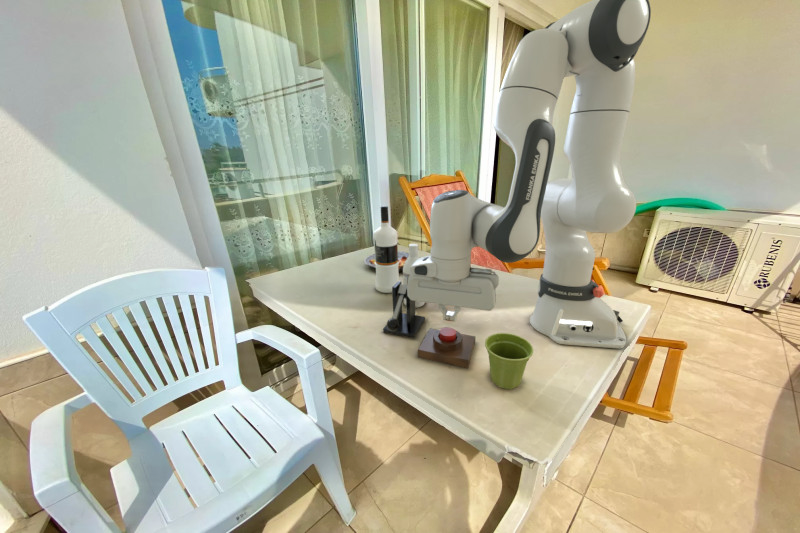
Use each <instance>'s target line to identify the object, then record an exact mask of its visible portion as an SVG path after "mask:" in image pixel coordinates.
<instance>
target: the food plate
mask: <svg viewBox="0 0 800 533" xmlns="http://www.w3.org/2000/svg"><path fill="white" fill-rule="evenodd" d="M408 257H409V252H407V251H400V250H399V251H398V262H399V264H398V271H399V272H400V271H403V266H404V263H405V261H406V260H407V258H408ZM375 263H376V262H375V253H373V254H370V255H368V256H367V257H365V259H364V264H365V265H367V266H370V267H372V268H375V269H376V265H375Z"/></svg>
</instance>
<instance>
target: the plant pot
mask: <svg viewBox="0 0 800 533" xmlns="http://www.w3.org/2000/svg"><path fill="white" fill-rule="evenodd" d="M484 346H485V349H486V352H487V354H488V361H489V362H488V363H489V374H490V380H491V381H492V382H493V383H494V384H495V385H496V386H497V387H499V388H501V389H504V390H513V389H515V388H518V387H520V385H521V382H522V379H523V376H524V373H525V369H526V366H527V363H528V362H529V360H530V358H532V356H533V355H534V347H533V345H532V343H530V341H529V340H527V339H526V338H524V337H521V336H519V335H517V334H515V333H514V334H513V333H508V332H498V333H493V334H491V335H488V336H487V337H486V339H485V341H484Z"/></svg>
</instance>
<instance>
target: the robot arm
mask: <svg viewBox="0 0 800 533" xmlns="http://www.w3.org/2000/svg"><path fill="white" fill-rule="evenodd" d="M651 14H652V9H651V3H650V0H590V1H588V2H585V3H583V4H580V5H579V6H577V7H575V8H574V9H573V10H572V11H570V12H569V13H566V14H565V15H563V16H562V17H560V18H559V19H557V20H556V21H553V22H550V23H549V24H548V25H547V26H545V27H544V28H539V29H534V30H532V31H530V32H529V33H527V34H525V35H524V36H523V37H522V38H521V40H519V43H518V45H517V47H516V49H515V51H514V52H513V55H512V57H511V59H510V61H509V64H508V67H507V69H506V71H505V74H504V77H503V80H502V83H501V85H500V89H499V93H498V96H497V100H496V103H495V106H494V111H493V112H494V113H493V123H492V124H493V128H494V130H495V133H496V135H497V136H498V138H499V139H500V140H501V141H502V142H503V143H504V144H506V145H507V146H508V147H510V148H511V150H512V152H513V154H514V158H515V166H514V170H513V176H512V181H511V185H510V190H509V195H508V199H507V203H506V205H505V206H502V205H499V204H496V203H492V202H489V201H485V200H482V199H481V198H478V197H477V196H474V195H473V194H471V193H470V191H468V190H465V189H455V190H448V191H445V192H441V193H440V194H438V195H436V197H434V199H433V200H432V203H431V207H430V216H429V236H430V240H431V248H430V254H428V255H424V256H419V257H420V258H419V259H417V260H416V261H415V262H414V263H413V264H412V265H411V267H410V272H411V275H410V277H409V279H408V286H407V295H408V297H409V299H410V300H413V301H420V302H425V303H428V304H436V305H438V309H439V311H440V312H441V314H442V316H443V317H442V318H443V321H446V322H454V323H455V322H457V319H458V314H459V312H461V309H462V308H466V309H472V310H481V311H487V312H488V311H489V312H490V311H492V310H494V309H495V307H496V303H497V291H496V289H497V288H498V286H499V280H500V278H499V275H498V274H497V272H495V271H494V270H492V269H491V268H480V267H471V265H472V250H473V248H480V249H483V250H484V251H486V252H488V253H489V254H490V255H492V256H493V257H494V258H495V259H497V260H498V261H500V262H502V263H505V264H506V263H507V264H511V263H512V264H513V263H517V262H519V261H521V260H524V259H525V258H527V257H528V256H529V255H530V254H531V253H532V252H533V251H534V250H535V249H536V246H537V245H538V242H539V240H540V236H541V235H540V234H541V225H542V229H543V234H544V243H545V249H544V250H545V251H544V252H545V253H544V260H543V262H544V263H543V268H542V269H543V270H542V273H541V274H540V278H539V279H538V280H539V281H538V286H537V295H538V296H537V300H536V304H535V306H534V309H533V312H532V314H531V316H530V317H529V324H530V325H531V327H532V328H533V329H535V331H537V332H539V333H541V334H543V335H544V336H547V337H548V338H550V339H551V340H552V341H553V342H554V343H557V344H559V345H565V346H567V345H569V346H581V347H593V348H608V349H623V348H624V347H625V346H626V344H627V337H626V334H625V331H624V330H623V329H622V327H621V326H620V325H619V324H620V323H621V324H622V323H623V321H624V320H623V319H622V317H621V316H620V311H618V310H615V309H613V308H612V307H611V306H610V305H609V304H608V303H607V302H605V301H604V300H603V299H601V298H602V297H604V292H603V290H602V288H601V287H599V285H598V284H597V283H596V282H595V281H594V279H592V274H593V269H594V265H595V260H596V251H595V248H594V247H593V245H592V244H591V242H590V239H589V238H588V234H587V232H588V233H595V234H614V233H617V232H620V231H621V230H623V229H624V228H625V227H626V226H628V225H629V224H630V222H631V221H632V220H633V218H634V216H635V214H636V210H637V200H636V197H635V194H634V193H633V192H632V191H631V190H630V188H629V187H628V185H627V184H626V181H625V178H624V176H623V170H622V162H621V161H622V158H621V157H622V156H621V155H622V146H623V142H624V137H625V132H626V128H627V124H628V119H629V116H630V111H631V107H632V103H633V98H634V92H635V82H636V66H637V65H636V61H635V59H634V58H635V57H636V55H637V53H638V51H639V49H640V48H641V45H642V44H643V41H644V39H645V37H646V36H647V32H648V29H649V26H650V21H651ZM569 77H574V80H575V85H576V90H575V93H574V96H573V99H572V103H571V108H570V112H569V118H568V123H567V128H566V133H565V138H564V143H563V155H564V156H565V157H566V158H567V160H568V162H569V164H570V169H571V178H567V177H563V178H556V179H552V180H549V178H550V173H551V168H552V163H553V158H554V154H555V147H556V131H555V128H554V126H553V120H554V114H555V110H556V107H557V106H556V105H557V102H558V99H559V96H560V93H561V89H562V87H563V83H564V79H565V78H569ZM446 306H450V307H453V310H454V311H450V310H448V309H447V307H446ZM618 323H619V324H618Z"/></svg>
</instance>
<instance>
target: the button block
mask: <svg viewBox="0 0 800 533" xmlns="http://www.w3.org/2000/svg"><path fill="white" fill-rule="evenodd" d="M439 336H440V329H437V328H433V327H432V328H431V327H430V328H429V329H428V331H427V332H426V334H425V336H424V338H423V340H422V342H421V343H420V345H419V347H418V349H417V357H418V358H421V359H425V360H430V361H434V362H439V363H443V364H448V365H452V366H457V367H461V368H466V369H468V368H469V367H470V363H471V360H472V357H473V353H474V349H475V345H476V336H475V335H470V334H465V333H461V332H459V331H457V330H456V340H455V341H453V342H445V341H442V340H441V339H440V337H439Z"/></svg>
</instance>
